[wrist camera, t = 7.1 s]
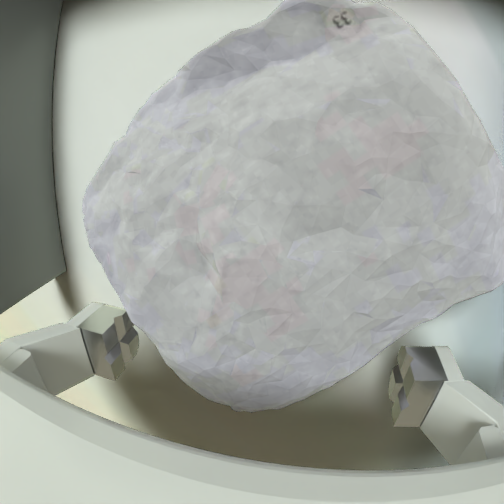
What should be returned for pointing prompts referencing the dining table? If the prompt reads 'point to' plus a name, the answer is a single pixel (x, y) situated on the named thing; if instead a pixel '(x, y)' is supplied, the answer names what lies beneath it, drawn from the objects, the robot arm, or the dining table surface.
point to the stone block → (298, 203)
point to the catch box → (27, 149)
